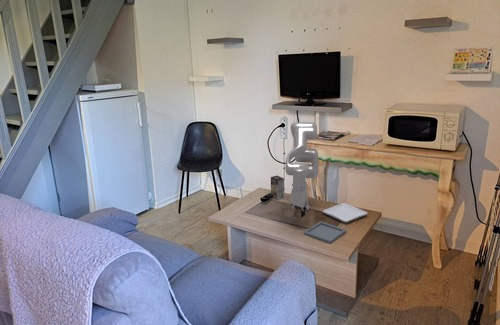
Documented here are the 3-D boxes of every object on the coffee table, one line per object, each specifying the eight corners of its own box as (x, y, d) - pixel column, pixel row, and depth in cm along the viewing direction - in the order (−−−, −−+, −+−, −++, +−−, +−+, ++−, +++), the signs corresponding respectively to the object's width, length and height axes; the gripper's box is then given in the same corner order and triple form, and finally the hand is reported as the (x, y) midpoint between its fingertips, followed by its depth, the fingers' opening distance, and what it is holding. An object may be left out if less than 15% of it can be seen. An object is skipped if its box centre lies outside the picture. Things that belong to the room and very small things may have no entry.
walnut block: (293, 216, 221) (293, 207, 220) (298, 213, 225) (298, 204, 223) (300, 218, 218) (300, 209, 216) (305, 215, 221) (305, 206, 220)
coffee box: (270, 196, 275) (270, 176, 271) (277, 194, 278) (276, 175, 274) (277, 200, 268) (277, 179, 263) (284, 198, 271) (284, 178, 266)
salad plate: (345, 226, 224) (345, 221, 223) (321, 214, 241) (321, 210, 240) (368, 217, 235) (368, 212, 234) (343, 207, 252) (343, 202, 251)
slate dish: (303, 234, 215) (303, 231, 214) (320, 224, 227) (320, 221, 226) (330, 243, 202) (330, 241, 202) (346, 232, 215) (346, 229, 214)
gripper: (284, 186, 219) (284, 213, 224) (307, 192, 207) (307, 221, 213) (291, 182, 224) (291, 209, 229) (314, 188, 212) (314, 216, 218)
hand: (299, 214), depth 221 cm, fingers closed on walnut block, 5 cm apart
